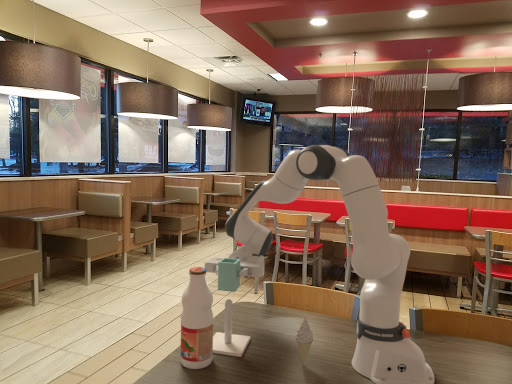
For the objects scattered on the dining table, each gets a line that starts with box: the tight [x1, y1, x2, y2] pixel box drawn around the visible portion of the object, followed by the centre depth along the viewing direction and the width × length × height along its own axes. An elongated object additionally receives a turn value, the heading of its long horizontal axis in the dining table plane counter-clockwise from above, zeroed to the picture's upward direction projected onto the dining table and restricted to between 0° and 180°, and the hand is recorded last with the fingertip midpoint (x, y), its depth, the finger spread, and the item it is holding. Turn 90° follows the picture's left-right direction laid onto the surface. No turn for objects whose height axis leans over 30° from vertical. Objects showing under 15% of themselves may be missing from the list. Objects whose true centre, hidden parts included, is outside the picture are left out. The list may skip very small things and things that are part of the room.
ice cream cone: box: [295, 316, 314, 367], centre depth 110 cm, size 5×5×15 cm
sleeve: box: [217, 257, 241, 293], centre depth 120 cm, size 6×6×9 cm
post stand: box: [213, 299, 251, 358], centre depth 121 cm, size 12×12×15 cm
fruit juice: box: [180, 266, 214, 370], centre depth 111 cm, size 9×9×28 cm
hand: (228, 273), depth 119 cm, fingers closed on sleeve, 6 cm apart
